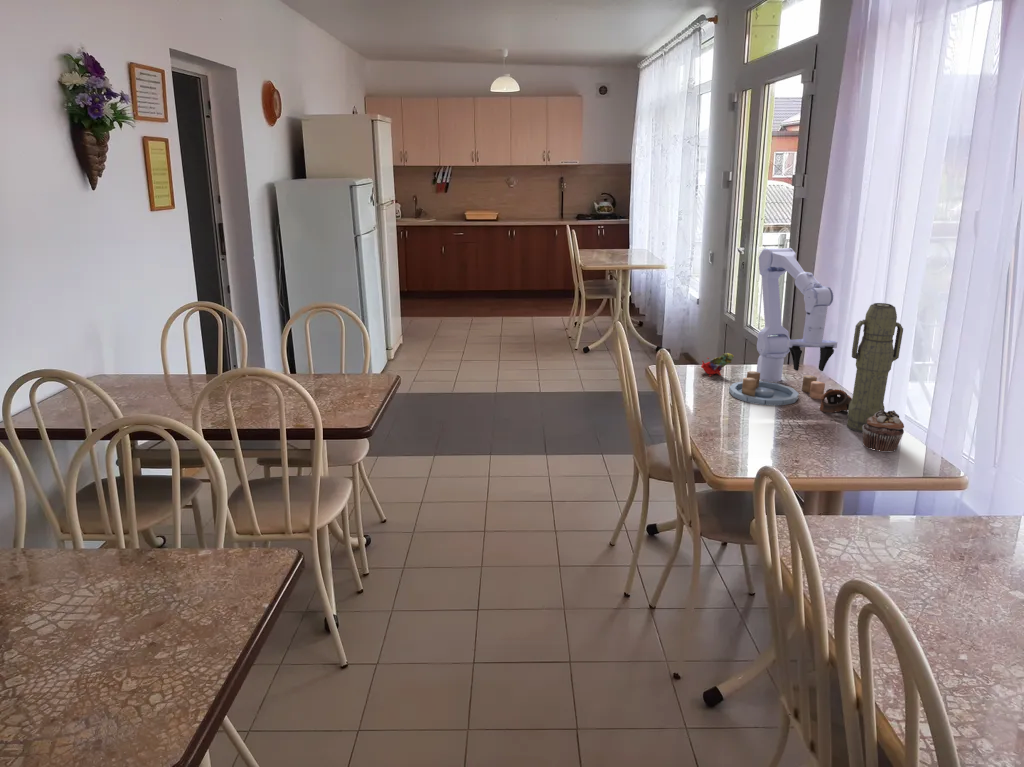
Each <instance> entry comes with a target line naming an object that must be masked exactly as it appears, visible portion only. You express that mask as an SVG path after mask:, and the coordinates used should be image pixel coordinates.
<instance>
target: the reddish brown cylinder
mask: <svg viewBox="0 0 1024 767" xmlns="http://www.w3.org/2000/svg"><path fill="white" fill-rule="evenodd" d="M825 387H826V383H825V382H823V381H813V382H811V388H810V393H809V394H808V396H809V398H811V399H813V400H821V397H822V396H823V394H825Z"/></svg>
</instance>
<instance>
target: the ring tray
mask: <svg viewBox="0 0 1024 767" xmlns="http://www.w3.org/2000/svg"><path fill="white" fill-rule="evenodd" d="M742 385H743V380H742V381H737V382H733V383H732V384H731V385H730V386H729V389H728V393H729V394H730V395H731V396H732V397H733V398H735V399H738V400H740V401H743V402H746V403H751V404H756V405H762V406H785V405H786V406H787V405H791V404H795V403H796V402H797V400H798V399H799V395H800V394H799V391H797V390H796V389H794V388H793V387H791V386H788V385H784V384H781V383H777V382H769V381H764V380H760V381H759V387H758V388H756V390H755V397H752V396H748V395H746V394H743V393H742Z"/></svg>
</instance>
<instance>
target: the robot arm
mask: <svg viewBox="0 0 1024 767" xmlns="http://www.w3.org/2000/svg"><path fill="white" fill-rule="evenodd" d="M758 270H759V271H758V272H759V275H760V276H761V284H762V285H761V286H762V287H761V288H762V300H763V301H762V302H763V316H764V327H763V328H762V329H761V330H760V331H759V332H758V333H757V342H756V350H757V352H758V354H759V356H758V358H757V365H756V372H759V373H760V381H765V382H772V383H777V382H781V381H782V377H783V370H784V369H783V368H784V361H785V358H786V357H787V354H789V353H790V355H791V359H792V363H793V370H795V371H796V372H797V371H799V369H800V362H801V361H800V360H801V358H802V357H801V356H802V354H803V350H801V348H819V361H818V370H819V371H820V372H824V370H825V367H826V365H827V363H828V361H829V359H830V358H831V357H832V355H833V354H834V352H835V349H837V348H838V341H836V340H828V339H824V335H825V326H826V320H827V314H828V307H829V306H831V305H832V303H833V302H834V292H833V290H832V288H831V287H830V286H825V285H822V283H821V282H819V280H818V279H816V277H815V276H814V274H813V272H809V271H805V270H804V269H803V267H802V266H801V265H800V263H799V262H798V260H797V253H796V251H794V249H793V248H791V247H787V248H786V247H785V248H783V247H782V248H781V247H779V248H777V247H776V248H768V247H767V248H766V247H765V248H763V249H762V250H761V252H760V254H759V256H758ZM786 272H787V273H788V274H790V275H789V276H791V277H792V278H793V279H794V286H795V287H796V288H797V289H798V290H799V291H800V293H801V294H802V295H803V302H804V311H805V318H804V319H805V320H804V326H803V334H802V338H800V339H799V338H796V339H791V338H790V332H789V330H788V329H786V328H785V327H784V326H783V325H782V324H783V323H782V322H783V321H782V310H781V297H780V295H781V294H780V282H779V280H780V277H781V276H783V275H784V274H785V273H786Z"/></svg>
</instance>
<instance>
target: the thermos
mask: <svg viewBox="0 0 1024 767" xmlns="http://www.w3.org/2000/svg"><path fill="white" fill-rule="evenodd" d="M897 316H898V314H897V309H896V306H894V305H893V304H891V303H887V302H886V303H884V302H883V303H882V302H875V303H872V304H870V305H869V307H868V310H866V313H865V318H864V319H862V320H859V321H858V322H857V323H856V325H855V329H854V334H853V336H854V337H853V341H852V347H851V358H853V359H855V367H856V371H855V379H854V385H853V392H852V397H851V398H852V400H851V401H850V403H849V409H848V410H847V416H846V417H847V423H846V427H847V428H848V429H850V430H851V431H854V432H858V433H862V434H863V429H862V427H863V425H864V424H867V419H868V418H870V417H872V416H874V415H875V413H877V412H879V411H881V409H882V410H884V411H885V404H884V400H885V394H886V388H887V385H888V384H887V382H888V377H889V373H890V371H891V370H892V365H893V363H894V362H895V361H896V360H898V359H899V356H900V350H901V346H902V340H903V334H904V333H903V332H904V328H903V326H902V324H901V323H900V322H897V320H898V317H897ZM862 326H863V330H862V331H863V335H862V337H861V341H860V335H861V329H862ZM896 329H897V330H896ZM895 331H896V333H895ZM895 334H896V335H895ZM894 336H895V341H894V339H893V338H894ZM859 341H860V343H859ZM893 344H894V345H893Z"/></svg>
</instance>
